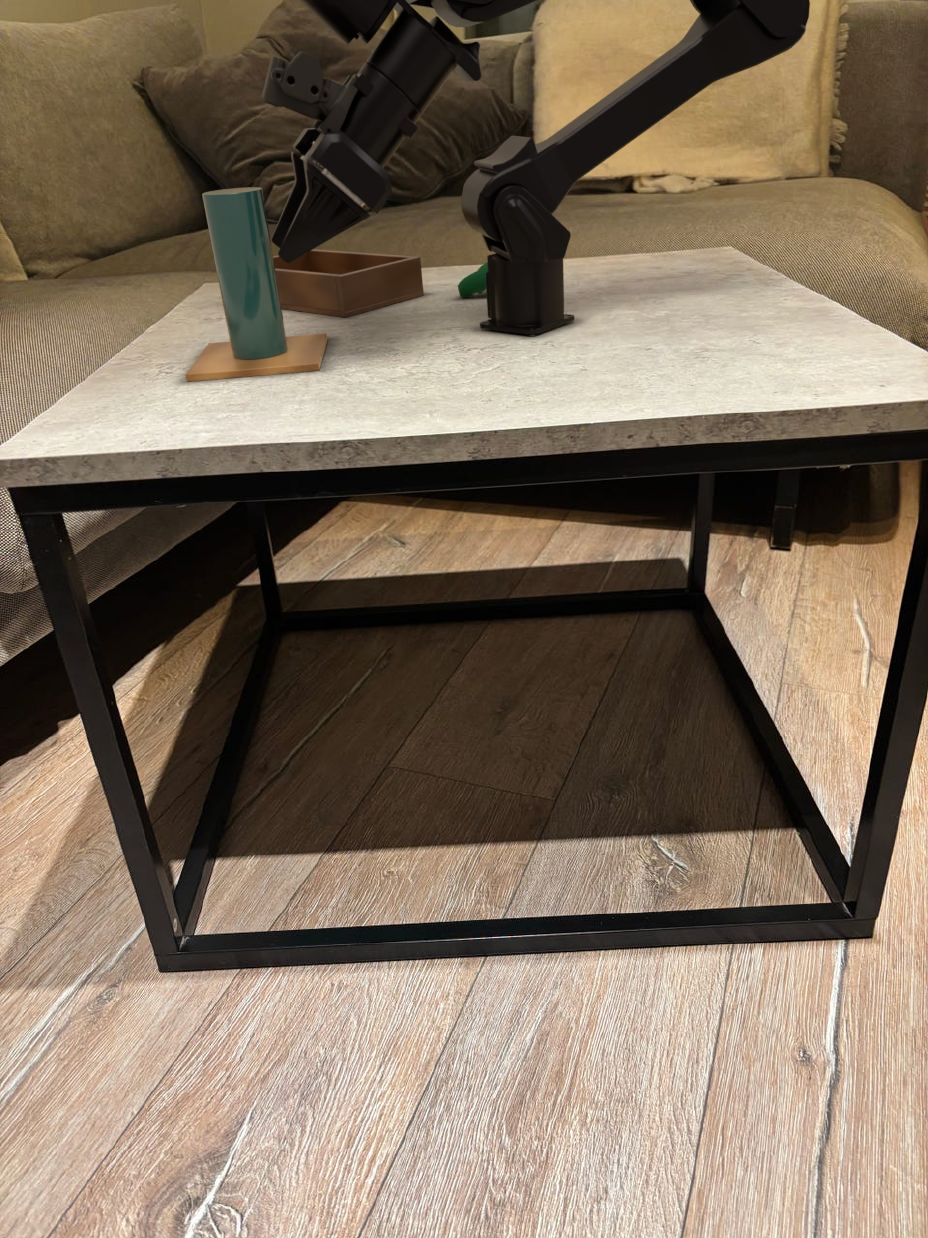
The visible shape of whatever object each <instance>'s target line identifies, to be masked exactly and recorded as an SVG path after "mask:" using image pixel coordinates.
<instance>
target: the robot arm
mask: <svg viewBox="0 0 928 1238" xmlns="http://www.w3.org/2000/svg"><path fill="white" fill-rule="evenodd" d="M300 1H301V2H302V3H303V4H304V5H305V6H306V7H307V8H308V9H309V10H310V11H311V13H313V14H314V15H315V16H316V17H317V18H318V19H319V20H320V21H321V22H322V23H323V24H325V25H326V27H328V28H329V30H331V32H333V33H334V34H335V35H336V36H337V37H338V38H339V39H340V40H341V41H342V42H343V43H344V44H345V45H346V46H347V45H349V44H351V42H352V41H353V39H355V40H358V39H359V38H360V40H361V41H362V42H363V43H364V44H365V45H367V44H369V43H370V41H371V40H372V39H373V38H374V37H375V36H376V34H377V33H378V31H379V30H380V29H381V27H382V26H383V25H384V24H385V22H386V20H387V19H388V17H389V16H390V14H391V13H392V11H393V10H394V11H396V13H397V14H398V15H397V16H396V18H395V19H394V21H392V23H391V24H390V26H389V28H388V29H387V31H386V32H385V33H384V35H383V36H382V38H381V39H380V40H379V42H378V43H377V45H376V47H374V49H373V51H372V52H371V54H370V55H369V56H368V58H367V59H366V61H365V62H364V63H363V65H362V66H361V67H360V69H359V71H358V72H357V73H354V74H353V75H351V74H349V75H348V76H347V77H346V78H345V79H344V81H343V83H342V84H341V83H338V82H336V81H334V80H332V79H331V78H328V77H325V76H324V75H323V70H322V64H321V57H318V56H315V55H314V54H310V53H309V52H306V51H303V50H300V51H298V53H297V54H296V55H295V56H294V57H293V59H291V61H290V62H289V61H287V60H286V59H284V58H282V57H277V56H272V57H271V58H270V61H269V64H268V67H267V68H268V69H267V71H266V77H265V81H264V85H263V89H262V94H261V98H260V101H261V102H264V103H265V104H268V105H271V106H273V107H276V108H285V109H288V110H290V111H292V112H295V113H297V114H300V115H302V116H305V117H307V118H310V119H312V120H315V121H314V123H313V124H312V127H309V128H308V127H307V128H304V129H303V130H302V131H301V133H300V134H299V136H298V137H297V139H296V140H295V141H294V143H293V145H292V147H291V148H293V149H295V151H297V152H298V153H299V154H300V155H301V156H300V157H299V156H298V155H297V154H296V153H295V152H293V151H291V153H290V159H291V162H292V168H293V174H294V182H293V185H292V188H291V190H290V192H289V195H288V198H287V200H286V203H285V204H284V207H283V210H282V213H281V214H280V216H279V218H278V219H279V220H278V222H277V224H276V226H275V229H274V232H273V234H272V236H271V238H270V240H271V243H273V244H274V245H275V246H276V247H278V248H279V250H278V253H277V255H279V257H280V258H281V259H283V260H284V261H285V262H286V263H291V262H293V261H294V260H296V259H298V258H299V257H301V256H303V255H304V254H306V253H308V252H309V251H311V250H313V249H316V248H318V247H320V246H321V245H322V244H325V243H326V242H328V241H329V240H331V239H333V238H335V237H336V236H339V235H341V234H342V233H343V232H345V231H347V230H348V229H350V228H352V227H354V226H356V225H357V224H360V223H362V222H363V221H366V220H368V219H369V218H370V217H371V215H370V213H368V212H367V211H366V210H365V209H364V206H365V205H366V207H367V208H368V209H369V210H371V211H372V212H374V213H375V214H377V215H378V213H379V212H380V211H381V210H382V208H383V207H384V206H385V204H386V203H387V201H388V200H389V199H390V197H391V196H392V194H393V190H392V181H391V174H390V173H389V172H388V171H387V170H386V168H385V167H386V165H387V164H388V163H389V162H390V160H391V159H392V157H393V155H394V154H395V153H396V151H397V150H398V149H399V148H400V146H401V144H402V143H403V142H404V140H405V139H406V138H407V139H411V138H412V137H413V135H415V133H416V131H417V130H418V129H419V127H418V125H417V122H418V121H419V120H420V118H421V117H422V115H423V114H424V112H425V111H426V110H427V108H428V107H429V106H430V104H431V103H432V102H433V100H434V99H435V98H436V95H437V94H438V93H439V92H440V90H441V89H442V88H443V86H444V85H445V83H446V82H447V80H448V79H449V78H450V76H451V75H452V73H453V72H455V73H456V74H457V75H458V76H459V77H460V78H461V79H462V80H463V81H464V82H466V83H469V82H478V81H480V80H481V78H482V70H481V64H480V48H481V44H480V42H479V41H473V42H467V43H466V42H463V41H462V40H461V39H460V38H459V37H458V35H456V34H455V32H453V30H452V29H451V28H450V27H449V26H452V27H454V28H468V27H472V26H475V25H478V24H482V23H485V22H489V21H491V20H495V19H497V18H499V17H502V16H503V15H506V14H508V13H511V12H513V11H516V10H518V9H521V8H523V7H525V6H528V5H530V4H532V3H535V2H537V1H538V0H300ZM689 1H690V3H691V5H692V7H693V8H694V10H695V11H696V12H697V13H698V14H699V15H698V17H696V19H695V21H693V24H692V25H691V26H690V28H689V29H688V31H687V32H686V34H685V35H684V37H683V38H682V39H681V40H680V41H678V43H677V44H675V45H674V46H673V47H671V48H669V50H667V51H666V52H665V53H663V54H662V55H660V56H659V57H658V58H656V59H655V60H654V61H652V62H651V63H649V64H648V65H646V66H645V67H644V68H643V69H641V70H639V72H637V73H636V74H634V75H633V76H631V77H630V78H629V79H628V80H626V81H624V82H623V83H622V84H620V85H619V86H618V87H616V88H615V89H614V90H612V91H611V92H610V93H608V94H607V95H605V96H604V97H603V98H601V99H600V100H599V101H597V102H596V103H594V104H593V105H592V106H591V107H589V108H587V110H585V111H584V112H582V113H580V115H578V116H576V117H575V118H574V119H573V120H572V121H569V123H567V124H566V125H564V126H562V128H560V129H559V130H558V131H556V132H555V133H554V134H552V135H550V137H548V138H546V139H544V140H543V141H540V142H538V143H535V141H534V138H533V137H531V136H530V137H529V136H528V137H527V136H519V135H511V136H510V137H509V138H507V139H506V140H505V141H504V142H503V143H501V145H500V146H499V147H498V148H497V149H496V150H495V151H494V152H493V153H492V154H491V155H489V156H487V157H485V158H482V159H478V160H474V162H473V165H474V166H475V167H477V168H478V169H477V170H474V172H473V173H471V175H470V176H469V177H467V179H466V180H465V182H464V184H463V188H462V193H461V196H460V197H461V198H460V204H461V212H462V214H463V217H464V220H465V221H466V223H467V224H468V225H469V226H470V228H471V229H472V230H474V231H476V232H477V233H479V234H481V236H482V239H483V242H484V244H485V246H486V248H487V251H488V252H490V253H492V254H488V255H487V256H486V257H487V262H488V271H487V272H486V274H485V275H486V292H485V294H486V304H487V305H486V308H487V309H486V310H487V317H488V319H486V320H484V321H480V322H479V328H480V329H483V330H489V331H491V330H492V331H498V332H506V333H514V334H522V335H530V336H531V335H532V336H533V335H537V334H540V333H544V332H546V331H549V330H552V329H554V328H557V327H560V326H563V325H566V324H568V323H571V322H573V321H575V314H571V313H565V285H564V283H565V281H564V280H565V277H564V258H565V256H566V253H567V249H568V246H569V243H570V240H571V237H572V234H571V232H570V230H568V228H566V226H564V225H563V224H562V223H561V222H560V221H559V219H557V218H556V217H555V216H554V215H553V214H554V213H555V212H556V211H557V210H558V208H559V207H560V205H561V204H562V203H563V201H564V200H565V198H566V197H567V195H568V194H569V192H570V191H571V189H572V188H573V186H574V185H576V183H577V182H578V181H579V180H580V179H582V178H583V177H584V176H585V175H587V174H588V173H590V172H591V171H593V170H594V169H595V168H597V167H598V166H600V165H601V164H602V163H604V162H605V161H606V160H608V159H609V158H610V157H612V156H614V155H615V154H616V153H617V152H619V151H620V150H622V149H623V148H624V147H626V146H628V144H630V143H632V142H633V141H634V140H636V139H637V138H638V137H640V136H641V135H643V134H644V133H646V131H648V130H649V129H651V128H652V127H654V126H655V125H656V124H657V123H660V121H662V120H663V119H665V118H666V117H667V116H669V115H670V114H671V113H673V112H674V111H675V110H677V109H679V108H680V107H681V106H683V105H684V104H685V103H687V102H688V101H690V99H692V98H694V97H695V96H697V95H698V94H699V93H700V92H702V91H703V90H705V89H706V88H708V87H709V86H710V85H712V84H713V83H716V82H717V81H720V80H722V79H725V78H728V77H731V76H733V75H735V74H737V73H740V72H741V73H742V72H744V71H746V70H748V69H751V68H754V67H756V66H758V65H760V64H762V63H765V62H766V61H769V60H771V59H773V58H775V57H777V56H779V55H782V54H783V53H785V52H787V51H789V50H791V49H793V48H794V46H795V45H797V43H798V42H799V41H801V39H802V38H803V37H804V35H805V33H806V30H807V28H806V27H807V24H808V20H809V17H810V9H811V7H810V6H811V2H810V0H689ZM413 6H416V7H422V8H428V9H432V10H434V11H435V13H436V14H437V15H436V16H434V17H433V18H432V19H431V20H430V21H428V20H427V19H426V18H425V17H424V16H423V15H421V14H420V13H419V12H418V11H417V10H416V9H415V8H413Z"/></svg>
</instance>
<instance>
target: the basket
mask: <svg viewBox="0 0 928 1238" xmlns="http://www.w3.org/2000/svg"><path fill="white" fill-rule="evenodd" d="M421 258H422V257H421V256H411V255H400V254H399V255H397V254H386V253H373V252H372V253H371V252H370V253H369V252H356V251H345V250H344V251H342V250H331V249H330V250H328V249H316V248H314V249H313V250H311V251H309V252H308V253H306V254H304V255H303V256H301V257H299V258H298V259H296V260H294V261H293V262H291V263H286V262H285V261H284V260H283V259H281V258H280V257H279V255H278V254H277V255H273V259H274V265H275V271H276V278H277V284H278V290H279V296H280V303H281V309H282V310H287V311H296V312H301V313H310V314H317V315H326V316H332V317H333V316H334V317H338V318H339V317H340V318H348V317H349V318H350V317H351V316H355V315H359V314H362V313H366V312H370V311H373V310H377V309H380V308H384V307H388V306H391V305H395V304H398V303H402V302H405V301H408V300H409V301H410V300H413V299H415V298H419V297H423V296H424V295H425V294H424V284H423V283H424V281H423V272H422V261H421Z"/></svg>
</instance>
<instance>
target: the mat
mask: <svg viewBox="0 0 928 1238" xmlns="http://www.w3.org/2000/svg"><path fill="white" fill-rule="evenodd" d="M286 340H287V346H288V350H287V352H285V353H283V354H281V355H278V356H275V357H270V358H265V359H256V360H243V359H237V358H234V357H233V354H232V349H231V344H230V341H221V342H219V341H218V342H208V344H207V345H206V346H205V347H204V349H203V350H202V352H201V353H200V354H199V356H197V359H196V360H195V361H194V362H193V364H192V365H191V367H190V368H189V369H188V370H187V372H186V373H185V374H184V375H185V380H186V382H199V381H200V382H201V381H211V380H222V379H236V378H247V377H259V376H271V375H280V374H293V373H294V374H295V373H305V372H316V371H320V368H321V365H322V361H323V358H324V354H325V352H326V347H327V343H328V340H329V338H328V333H315V334H313V333H312V334H303V335H302V334H301V335H290V336H286Z"/></svg>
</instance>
